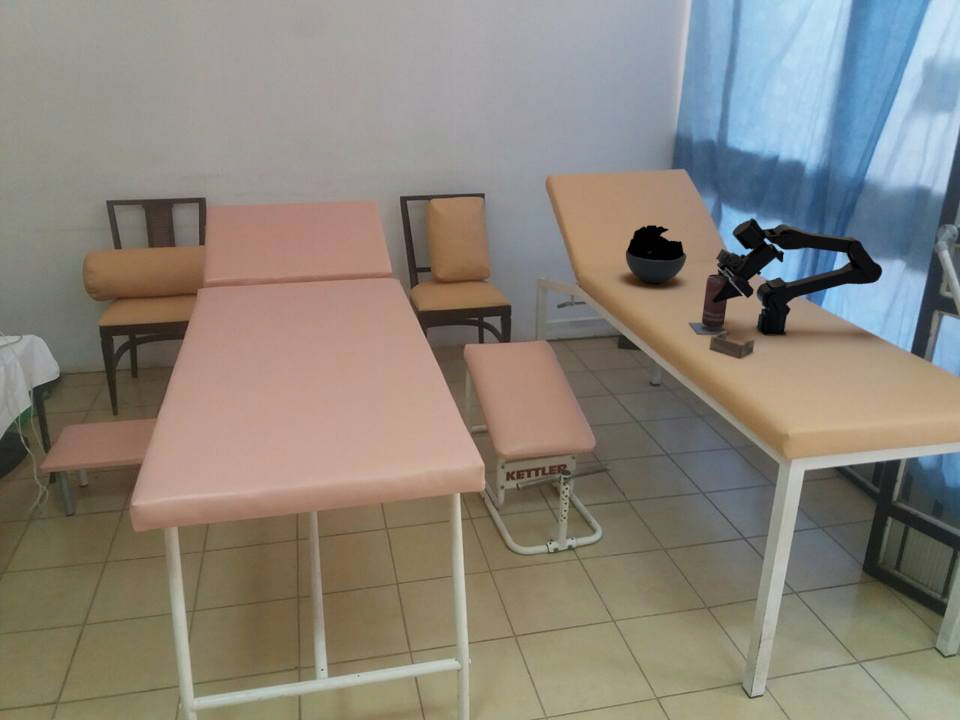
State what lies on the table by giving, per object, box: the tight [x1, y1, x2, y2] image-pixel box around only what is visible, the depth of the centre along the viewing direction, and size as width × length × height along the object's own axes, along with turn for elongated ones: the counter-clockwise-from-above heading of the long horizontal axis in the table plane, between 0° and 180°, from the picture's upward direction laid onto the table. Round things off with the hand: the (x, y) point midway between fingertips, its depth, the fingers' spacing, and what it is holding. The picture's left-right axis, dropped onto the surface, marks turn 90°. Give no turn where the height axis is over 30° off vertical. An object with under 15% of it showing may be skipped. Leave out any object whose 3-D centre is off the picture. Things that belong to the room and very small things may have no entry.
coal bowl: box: [625, 224, 687, 284], centre depth 262 cm, size 20×20×19 cm
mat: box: [688, 322, 730, 335], centre depth 223 cm, size 9×9×1 cm
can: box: [701, 273, 731, 327], centre depth 219 cm, size 6×6×14 cm
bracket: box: [709, 330, 756, 359], centre depth 208 cm, size 7×9×4 cm
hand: (710, 298), depth 219 cm, fingers closed on can, 5 cm apart
